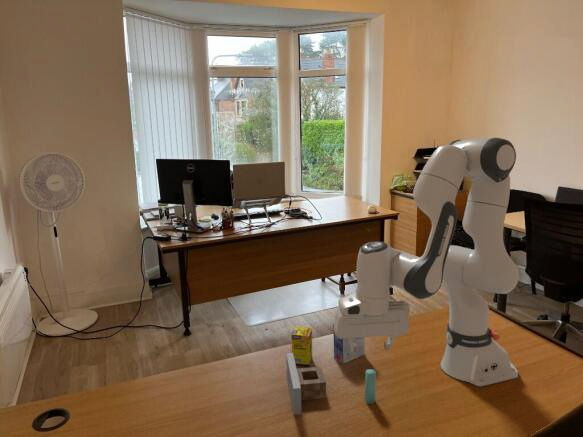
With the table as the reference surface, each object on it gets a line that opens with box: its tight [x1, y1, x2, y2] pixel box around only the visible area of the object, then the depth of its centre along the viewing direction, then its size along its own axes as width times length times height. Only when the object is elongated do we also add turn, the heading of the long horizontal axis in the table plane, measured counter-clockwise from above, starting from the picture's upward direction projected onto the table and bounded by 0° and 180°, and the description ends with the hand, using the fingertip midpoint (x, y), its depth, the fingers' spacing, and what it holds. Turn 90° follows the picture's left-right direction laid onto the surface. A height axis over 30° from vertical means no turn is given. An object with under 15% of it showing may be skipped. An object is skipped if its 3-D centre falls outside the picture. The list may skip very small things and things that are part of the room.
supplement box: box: [290, 326, 313, 368], centre depth 141 cm, size 6×6×11 cm
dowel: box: [364, 368, 377, 405], centre depth 121 cm, size 3×3×9 cm
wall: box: [285, 352, 302, 416], centre depth 125 cm, size 2×18×8 cm, turn 7°
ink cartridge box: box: [332, 323, 366, 364], centre depth 144 cm, size 10×6×14 cm, turn 124°
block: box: [296, 366, 327, 401], centre depth 127 cm, size 8×8×5 cm
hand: (370, 349), depth 118 cm, fingers open, 8 cm apart
